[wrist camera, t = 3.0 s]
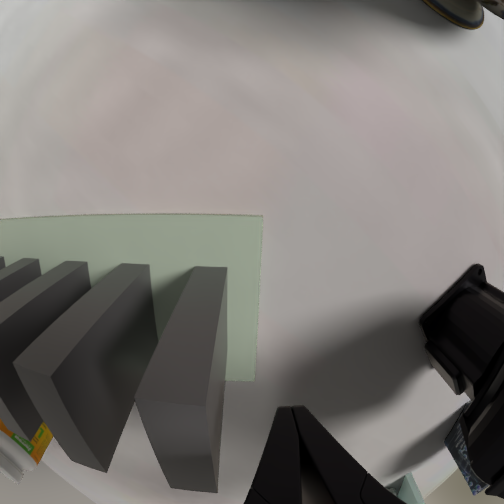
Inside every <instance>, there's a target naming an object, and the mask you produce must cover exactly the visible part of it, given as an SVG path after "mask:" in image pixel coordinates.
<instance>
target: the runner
mask: <svg viewBox="0 0 504 504" xmlns="http://www.w3.org/2000/svg"><path fill="white" fill-rule="evenodd" d="M262 232H263V215H232V214H96V215H66V216H44V217H26V218H10V219H0V256H4V260H5V266H6V267H7V266H9V265H11V264H12V263H14V262H16V261H18V260H20V259H22V258H34V259H39V263H40V268H41V274H42V275H43V274H44V273H46V272H48V271H49V270H51V269H53V268H54V267H56V266H58V265H59V264H61V263H63V262H65V261H66V260H67V261H85V262H87V263H88V270H89V277H90V283H91V288H93V287H94V286H95V285H96V284H97V283H99V282H100V281H101V280H102V279H103V278H105V277H106V276H107V275H108V274H109V273H111V272H112V271H113V270H114V269H115V268H117V267H118V266H119V265H120V264H122V263H130V264H149V265H150V277H151V287H152V297H153V306H154V314H155V322H156V329H157V336H158V342H159V340H160V338H161V336H162V334H163V332H164V330H165V327H166V325H167V323H168V321H169V319H170V317H171V315H172V313H173V311H174V309H175V306H176V304H177V302H178V300H179V298H180V296H181V294H182V292H183V290H184V288H185V286H186V284H187V282H188V280H189V278H190V276H191V274H192V272H193V270H194V268H195V266H208V267H228V271H227V346H228V350H227V363H226V375H225V381H255V366H256V349H257V331H258V313H259V294H260V274H261V254H262Z"/></svg>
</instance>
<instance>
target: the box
mask: <svg viewBox="0 0 504 504" xmlns="http://www.w3.org/2000/svg"><path fill="white" fill-rule="evenodd" d="M471 402H472V401H470V402H468V403H467V404H466V405H465V407H464V410H463V412H465V411H466V410H467V408H468V407H469V405H470V404H471ZM463 412H462V413H463ZM462 413H461V415H462ZM461 415H460V416H461ZM459 418H460V417H459ZM444 443H445V445H446V446H447V448H448V450H449V451H450V453H451V455H452V457H453V458H454V460H455V462H456V463H457V465H458V467H459V469H460V471H461V472H462V474H463V476H464V478H465V480H466V481H467V483H468V485H469V487H470V489H471V491H472V493H473V495H476V494H478V493H479V492H481V491H482V490H483V489H485V488H486V487H488V486H489V485H488V484H486V483H484V482H482V481H481V480H480V479H479V478H478V477H477V476H476V475H475V474H474V472H473V471H472V469H471V467H470V460H469V456H468V452H467V448H466V444H465V441H464V437H463V433H462V430H461V427H460V423H459V419H458V420H457V422H456V424H455V426H454V427H453V429H452V430H451V432H450V434H449V435H448V437H447V438H446V439H445V441H444Z"/></svg>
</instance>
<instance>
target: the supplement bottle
mask: <svg viewBox="0 0 504 504" xmlns="http://www.w3.org/2000/svg"><path fill="white" fill-rule="evenodd" d="M52 438H53V435H52V433H51V432H50V430H49V429H48V427H47V425H46V424H45V422H44V421H43V423H42V424H41V426H40V428H39V429H38V431H37V432H36V434H35V436H34V437H33V439H32V441H31V442H30V441H28V440H26V439H24V438H22V437H20V436H19V435H17V434H15V433H13V432H12V431H10V430H8V429H7V427H6V426H5V425H4V423H3V422H2V420H1V419H0V472H1V473H2V474H3V475H5V476H6V477H7V478H9V479H10V480H11V481H13V482H15V483H16V484H19V483H20V481H21V480H22V478H23V475H24V474H23V470H26V471H33V470H35V468H36V467H37V465H38V463H39V461H40V460H41V458H42V456H43V454H44V452H45V450H46V448H47V447H48V445H49V443H50V441H51V440H52Z"/></svg>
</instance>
